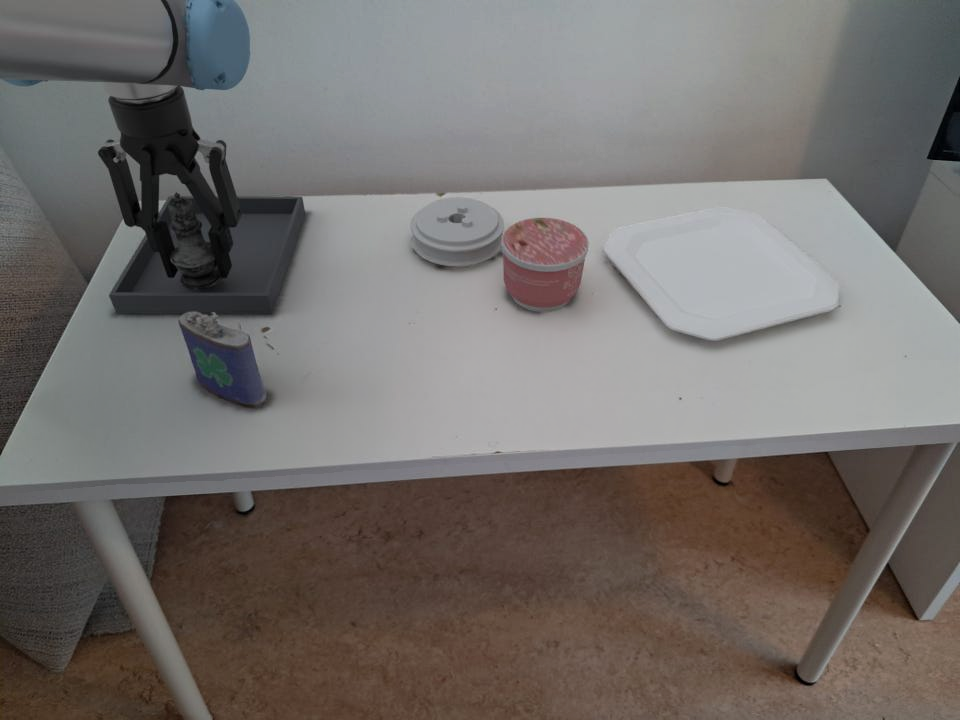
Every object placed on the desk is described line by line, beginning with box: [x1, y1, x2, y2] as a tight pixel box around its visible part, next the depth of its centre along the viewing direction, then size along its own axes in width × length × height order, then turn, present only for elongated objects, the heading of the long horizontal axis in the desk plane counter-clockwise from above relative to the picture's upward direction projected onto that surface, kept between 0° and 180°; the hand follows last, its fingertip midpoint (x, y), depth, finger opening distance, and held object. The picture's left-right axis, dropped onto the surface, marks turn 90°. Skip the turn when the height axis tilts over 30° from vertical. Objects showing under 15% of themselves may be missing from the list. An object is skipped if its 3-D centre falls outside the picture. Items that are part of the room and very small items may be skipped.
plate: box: [602, 205, 842, 342], centre depth 95 cm, size 25×25×2 cm
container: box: [501, 217, 590, 313], centre depth 90 cm, size 10×10×8 cm
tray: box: [108, 195, 306, 315], centre depth 97 cm, size 23×19×3 cm
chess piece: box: [168, 191, 222, 290], centre depth 88 cm, size 6×6×12 cm
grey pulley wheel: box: [410, 196, 505, 267], centre depth 99 cm, size 13×13×5 cm
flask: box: [177, 311, 268, 409], centre depth 76 cm, size 9×3×11 cm, turn 61°
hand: (200, 271), depth 92 cm, fingers closed on chess piece, 6 cm apart
